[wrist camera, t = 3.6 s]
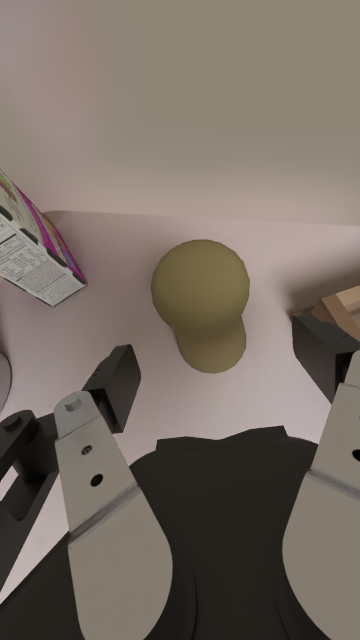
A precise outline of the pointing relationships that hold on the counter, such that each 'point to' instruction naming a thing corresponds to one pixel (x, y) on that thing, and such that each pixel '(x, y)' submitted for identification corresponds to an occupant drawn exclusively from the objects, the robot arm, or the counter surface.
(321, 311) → the walnut socket
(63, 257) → the candy bar box
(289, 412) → the counter surface
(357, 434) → the robot arm
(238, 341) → the olive knobbed peg
